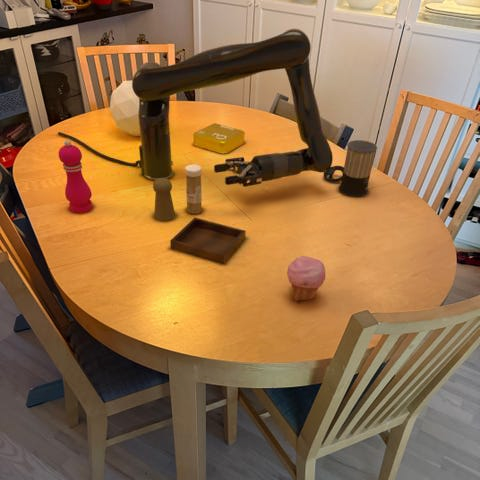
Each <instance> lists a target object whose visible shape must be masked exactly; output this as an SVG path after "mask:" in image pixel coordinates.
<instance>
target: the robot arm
mask: <svg viewBox="0 0 480 480" xmlns="http://www.w3.org/2000/svg"><path fill="white" fill-rule="evenodd" d="M311 49H312V46H311V40H310V39H309V36H308V35H307V34H306V33H305V32H304V31H303V30H301V29H299V28H289V29H287V30H286V31H284V32H283V33H280V34H278V35H275V36H273V37H269V38H267V39H264V40H259V41H256V42H247V43H246V42H245V43H234V44H227V45H221V46H218V47H213V48H210V49H206V50H203V51H201V52H199V53H196V54H194V55H192V56H190V57H188V58H186V59H184V60H182V61H180V62H177V63H174V64H170V65H165V66H162V65H161V64H159V63H157V62H156V61H146V62H144V63H142V64H141V65H140V67H139V68H138V69H137V70H136V71H135V72H134V75H133V77H132V80H131V81H132V88H133V91H134V93H135V95H136V96H137V97H138V98H139V112H138V118H139V126H140V144H141V145H139V146H138V151H139V160H136V161H135V162H127V161H124V160H121V159H117V158H114V157H111V156H109V155H106V154H104V153H101V152H100V151H97V150H96V149H94V148H93V147H91V146H89V145H87V144H86V143H85V142H84V141H81V140H80V139H78V138H76V137H74V136H72V135H69V134H66V133H64V132H60V131H58V132H57V135H58V136H62V137H65V138H68V139H69V140H72V141H75V142H76V143H78V144H80V145H81V146H83V147H84V148H86V149H87V150H88V151H90V152H92V153H94V154H95V155H97V156H99V157H101V158H104V159H106V160H108V161H112V162H114V163H118V164H122V165H124V166H129V167H139V169H140V171H141V175H142V176H144V177H145V178H146V179H148V180H152V181H155V180H157V179H159V178H165V179H168V180H169V179H170V178H171V177H173V174H174V173H173V165H174V163H173V160H172V147H171V145H172V144H171V129H170V96H173V95H176V94H179V93H183V92H188V91H194V90H201V89H206V88H211V87H216V86H220V85H224V84H229V83H233V82H236V81H240V80H243V79H245V78H248V77H251V76H254V75H256V74H259V73H263V72H269V71H276V70H284V71H285V74H286V76H287V79H288V83H289V86H290V89H291V96H292V101H293V108H294V114H295V120H296V124H297V129H298V133H299V137H300V140H301V142H303V143H304V144H306V146H307V147H305V148H301V149H298V150H295V151H286V152H273V153H267V154H265V153H264V154H260V155H255V156H253V157H252V159H251V160H250V161H245V157H243V156H240V157H234V158H232V157H231V158H225V162H224V163H217V164H214V165H213V171H214V173H216V174H219V173H225V172H232V174H234V175H229V176H225V177H224V184H225V185H226V186H230V185H236V184H238V185H242V187H244V188H247V187H251V186H256V185H261V184H262V182H268V181H274V180H280V179H282V178H288V177H293V176H298V175H299V174H301V173H302V172H315V173H321V174H322V173H324V172H326V171H328V170H329V169H330V167H332V165H333V161H334V160H333V159H334V156H333V152H332V148H331V146H330V142H329V141H328V139H327V137H326V135H325V133H324V129H323V123H322V118H321V113H320V109H319V105H318V102H317V97H316V94H315V90H314V85H313V82H312V76H311V69H310V54H311Z"/></svg>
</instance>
